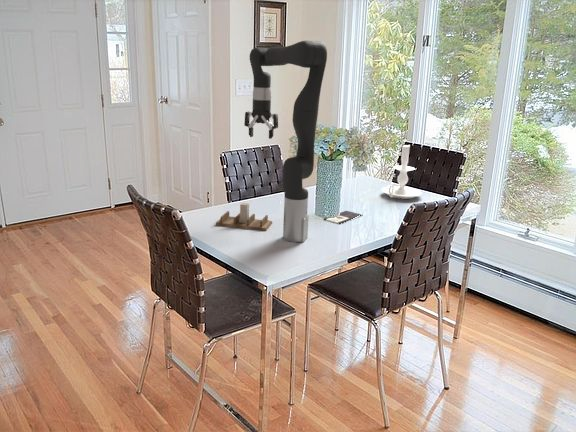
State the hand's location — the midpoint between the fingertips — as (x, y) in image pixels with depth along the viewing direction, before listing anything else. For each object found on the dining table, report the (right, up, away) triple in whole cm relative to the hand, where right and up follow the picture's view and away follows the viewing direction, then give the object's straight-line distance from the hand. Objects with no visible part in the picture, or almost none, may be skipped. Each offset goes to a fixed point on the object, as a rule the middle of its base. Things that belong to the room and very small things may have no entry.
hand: (260, 137), depth 222 cm
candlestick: (+70, -24, +54) cm, 91 cm away
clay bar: (-7, -36, +2) cm, 36 cm away
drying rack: (-7, -37, +3) cm, 38 cm away
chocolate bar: (+37, -34, +17) cm, 53 cm away
